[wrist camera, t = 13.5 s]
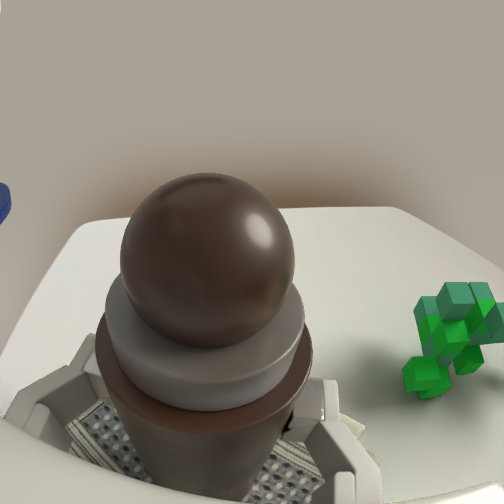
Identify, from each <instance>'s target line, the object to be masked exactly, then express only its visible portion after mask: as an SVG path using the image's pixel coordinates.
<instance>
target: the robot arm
mask: <svg viewBox="0 0 504 504" xmlns="http://www.w3.org/2000/svg"><path fill="white" fill-rule="evenodd" d="M0 14H1V0H0ZM95 338H96V334H92V333H90V334H89V335H88V336H87V337H86V338H85V340H84V341H83V343H82V345H81V346H80V348H79V350H78V352H77V353H76V355H75V357H74V358H73V360H72V362H71V363H70V365H69V366H67V365H65V366H63V367H61V368H59V369H58V370H56V371H54V372H52V373H51V374H49V375H47V376H45V377H43V378H42V379H40V380H38V381H36V382H34V383H33V384H31V385H29V386H27V387H25V388H24V389H22V390H20V391H19V392H18V393H17V395H16V397H15V398H14V400H13V402H12V404H11V405H10V407H9V409H8V411H7V413H6V415H5V416H4V418H2V417H0V504H251V503H243V502H235V501H228V500H222V499H216V498H210V497H205V496H200V495H195V494H190V493H186V492H181V491H177V490H173V489H169V488H165V487H161V486H158V485H154V484H151V483H147V482H144V481H140V480H137V479H134V478H131V477H128V476H125V475H122V474H119V473H116V472H113V471H111V470H108V469H105V468H103V467H100V466H97V465H95V464H92V463H90V462H87V461H85V460H83V459H80V458H78V457H76V456H73V455H71V454H69V453H68V451H69V448H70V446H71V443H72V441H73V440H72V437H71V436H70V434H69V433H68V432H67V431H66V429H65V428H64V427H65V426H67V425H68V424H69V423H71V422H72V421H73V420H75V419H76V418H77V417H78V416H80V415H81V414H82V413H84V412H85V411H86V410H88V409H89V408H90V407H92V406H93V405H94V404H95V403H97V402H98V400H100V401H103V402H107V403H110V404H113V402H112V400H111V398H110V395H109V393H108V391H107V388H106V386H105V383H104V381H103V378H102V376H101V373H100V371H99V368H98V365H97V361H96V355H95ZM113 405H114V404H113ZM281 440H284V441H293V442H302V443H304V445H305V446H306V448H307V450H308V452H309V454H310V455H311V457H312V459H313V461H314V462H315V464H316V466H317V468H318V469H319V471H320V473H321V475H322V476H323V478H324V480H325V483H324V484H322V485H321V486H320V487H319V488H317V489H316V490H315V491H313V492H312V499H311V504H383V497H382V481H381V469H380V468H379V467H378V466H377V464H376V463H375V462H374V460H373V459H372V458H371V457H370V455H369V454H368V453H367V451H366V450H365V449H364V447H363V446H362V445H361V443H360V442H359V441H358V440H357V438H356V437H355V436H354V434H353V433H352V432H351V430H350V429H349V428H348V426H347V425H346V424H345V422H340V410H339V396H338V383H337V381H336V380H325V379H319V378H307V381H306V383H305V385H304V387H303V390H302V392H301V394H300V396H299V398H298V400H297V402H296V404H295V406H294V408H293V410H292V412H291V414H290V416H289V418H288V420H287V422H286V424H285V426H284V428H283V430H282V432H281ZM386 504H504V487H503V486H502V485H501V484H500V483H499V482H497V481H489V482H486V483H482V484H479V485H476V486H472V487H469V488H465V489H461V490H457V491H453V492H449V493H445V494H440V495H436V496H431V497H426V498H420V499H414V500H408V501H402V502H394V503H386Z"/></svg>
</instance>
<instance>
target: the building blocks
mask: <svg viewBox="0 0 504 504" xmlns="http://www.w3.org/2000/svg"><path fill="white" fill-rule="evenodd" d="M413 311H414V315H415V319H416V323H417V327H418V332H419V336H420V341H421V345H422V352H423V357H412V358H411V359H410V360H409V362H408V363H407V364H406V365H405V367H404V368H403V369H402V370H403V377H404V383H405V390H406V392H411V391H418V395H419V399H424V398H433V397H440V396H442V395H443V394H444V393H445V392H446V391H447V390H449V389H450V388H451V382H450V377H449V372H448V368H447V366H448V365H449V364H450V362H451V361H452V360H453V364H454V368H455V372H456V375H461V374H468V373H474V372H475V371H476V370H477V369H478V368H479V367H480V366H481V365H482V364H483V363H484V359H483V356H482V352H481V349H480V346H479V345H483V344H492V343H502V342H504V302H502V303H496V302H495V299H494V297H493V295H492V293H491V290H490V288H489V286H488V283H487V282H469V284H468V283H467V282H445V283H444V285H443V287H442V289H441V290H440V292H439V294H438V295H437V296H421V298H420V300H419V301H418V303H417V305H416V307H415V308H414V310H413Z"/></svg>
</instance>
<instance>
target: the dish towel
mask: <svg viewBox="0 0 504 504" xmlns="http://www.w3.org/2000/svg"><path fill="white" fill-rule="evenodd" d="M340 422H345V424H346V425H347V426H348V428H349V429H350V430H351V432H352V433H353V434H354V436H355V437H356V438H357V439H358V437H359V436H360V435H361V434H362V432H363V431H364V429H365V426H364V425H362V424H360V423H359V422H357V421H355V420H353V419H352V418H350V417H348V416H346V415H344V414H342V413H340ZM64 428H65V429H66V431H67V432H68V433H69V434H70V436H71V437H72V440H73V441H72V443H71V446H70V448H69V451H68V453H69V454H71V455H73V456H76V457H78V458H80V459H83V460H85V461H87V462H90V463H92V464H95V465H97V466H100V467H103V468H105V469H108V470H111V471H113V472H116V473H119V474H122V475H125V476H128V477H131V478H134V479H137V480H140V481H144V482H147V483H151V484H154V485H155V483H154V482H153V480H152V478H151V477H150V475H149V473H148V472H147V470H146V468H145V466H144V464H143V463H142V461H141V459H140V457H139V455H138V453H137V452H136V450H135V448H134V446H133V444H132V442H131V440H130V438H129V436H128V434H127V432H126V430H125V428H124V426H123V424H122V422H121V420H120V418H119V415H118V413H117V411H116V409H115V407H114V405H113V404H110V403H107V402H103V401H100V400H98V402H97V403H95V404H94V405H93V406H92V407H90V408H89V409H88V410H86V411H85V412H84V413H82V414H81V415H80V416H78V417H77V418H76V419H75V420H73V421H72V422H71V423H69V424H68V425H67V426H65V427H64ZM366 451H367V450H366ZM367 453H368V454H369V455H370V457H371V458H372V459H373V460H374V462H375V463H376V464H377V466H379V465H380V463H381V461H382V458H381V457H379V456H377V455H375V454H373V453H371V452H369V451H367ZM324 483H325V480H324V478H323V476H322V475H321V473H320V471H319V469H318V468H317V466H316V464H315V462H314V461H313V459H312V457H311V455H310V454H309V452H308V450H307V448H306V446H305V445H304V443H302V442H293V441H284V440H281V434H280V436H279V438H278V440H277V442H276V443H275V445H274V447H273V449H272V451H271V453H270V455H269V456H268V458H267V460H266V462H265V464H264V465H263V467H262V469H261V471H260V472H259V474H258V476H257V478H256V479H255V481H254V483H253V485H252V486H251V488H250V490H249V491H248V493H247V495H246V496H245V497H244V498H243V499H242V500H241V501H240V502H243V503H251V504H311V499H312V492H313V491H315V490H316V489H317V488H319V487H320V486H321V485H322V484H324Z"/></svg>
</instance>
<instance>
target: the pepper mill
mask: <svg viewBox="0 0 504 504" xmlns="http://www.w3.org/2000/svg"><path fill="white" fill-rule="evenodd" d="M294 267H295V255H294V248H293V241H292V238H291V235H290V231H289V229H288V226H287V224H286V222H285V220H284V218H283V216H282V215H281V213H280V212H279V210H278V209H277V207H276V206H275V205H274V204H273V203H272V201H271V200H270V199H269V198H268V197H267V196H266V195H265V194H263V193H262V192H261V191H259V190H258V189H257V188H255V187H254V186H252V185H250V184H249V183H247V182H244V181H242V180H240V179H237V178H235V177H232V176H228V175H222V174H215V173H197V174H191V175H187V176H183V177H179V178H176V179H174V180H172V181H170V182H168V183H166V184H164V185H162V186H160V187H159V188H158V189H156V190H155V191H154V192H152V193H151V194H150V195H149V196H148V197H147V198H146V199H145V200H144V201H143V202H142V203H141V204H140V205H139V207H138V208H137V209H136V211H135V212H134V214H133V215H132V217H131V219H130V221H129V223H128V225H127V227H126V229H125V233H124V236H123V240H122V244H121V251H120V271H121V273H120V274H119V275H118V276H117V277H116V279H115V280H114V282H113V284H112V285H111V287H110V290H109V292H108V295H107V298H106V304H105V312H104V314H103V316H102V318H101V319H100V322H99V325H98V328H97V332H96V338H95V355H96V361H97V365H98V368H99V371H100V373H101V376H102V378H103V381H104V383H105V386H106V388H107V391H108V393H109V395H110V398H111V400H112V402H113V404H114V407H115V409H116V411H117V413H118V415H119V418H120V420H121V422H122V424H123V426H124V428H125V430H126V432H127V434H128V436H129V438H130V440H131V442H132V444H133V446H134V448H135V450H136V452H137V453H138V455H139V457H140V459H141V461H142V463H143V464H144V466H145V468H146V470H147V472H148V473H149V475H150V477H151V478H152V480H153V482H154V483H155V485H158V486H161V487H165V488H169V489H173V490H177V491H181V492H186V493H190V494H195V495H200V496H205V497H210V498H216V499H222V500H228V501H235V502H240V501H241V500H242V499H243V498H244V497H245V496H246V495H247V493H248V491H249V490H250V488H251V486H252V485H253V483H254V481H255V479H256V478H257V476H258V474H259V472H260V471H261V469H262V467H263V465H264V464H265V462H266V460H267V458H268V456H269V455H270V453H271V451H272V449H273V447H274V445H275V443H276V442H277V440H278V438H279V436H280V434H281V432H282V430H283V428H284V426H285V424H286V422H287V420H288V418H289V416H290V414H291V412H292V410H293V408H294V406H295V404H296V402H297V400H298V398H299V396H300V394H301V392H302V390H303V387H304V385H305V383H306V381H307V378H308V376H309V374H310V370H311V365H312V356H313V350H312V341H311V337H310V334H309V330H308V328H307V326H306V324H305V322H304V320H305V314H304V306H303V303H302V299H301V297H300V295H299V293H298V290H297V289H296V287H295V286H294V284H293V283H292V280H293V275H294Z"/></svg>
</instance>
